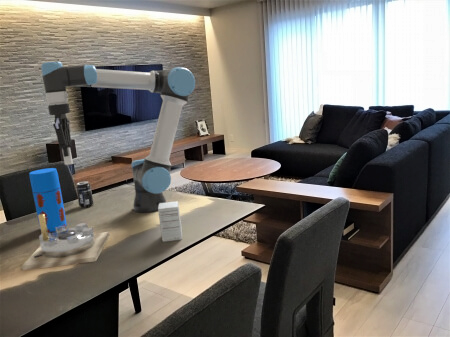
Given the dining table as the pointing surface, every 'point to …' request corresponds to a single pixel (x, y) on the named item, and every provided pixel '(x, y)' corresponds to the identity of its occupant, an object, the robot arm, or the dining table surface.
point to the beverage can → (84, 194)
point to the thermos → (48, 197)
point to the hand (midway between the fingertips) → (68, 164)
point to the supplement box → (170, 221)
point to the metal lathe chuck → (65, 239)
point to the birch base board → (85, 256)
